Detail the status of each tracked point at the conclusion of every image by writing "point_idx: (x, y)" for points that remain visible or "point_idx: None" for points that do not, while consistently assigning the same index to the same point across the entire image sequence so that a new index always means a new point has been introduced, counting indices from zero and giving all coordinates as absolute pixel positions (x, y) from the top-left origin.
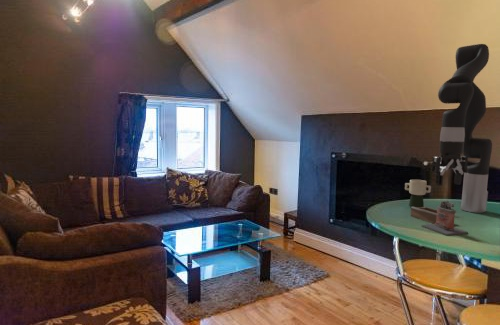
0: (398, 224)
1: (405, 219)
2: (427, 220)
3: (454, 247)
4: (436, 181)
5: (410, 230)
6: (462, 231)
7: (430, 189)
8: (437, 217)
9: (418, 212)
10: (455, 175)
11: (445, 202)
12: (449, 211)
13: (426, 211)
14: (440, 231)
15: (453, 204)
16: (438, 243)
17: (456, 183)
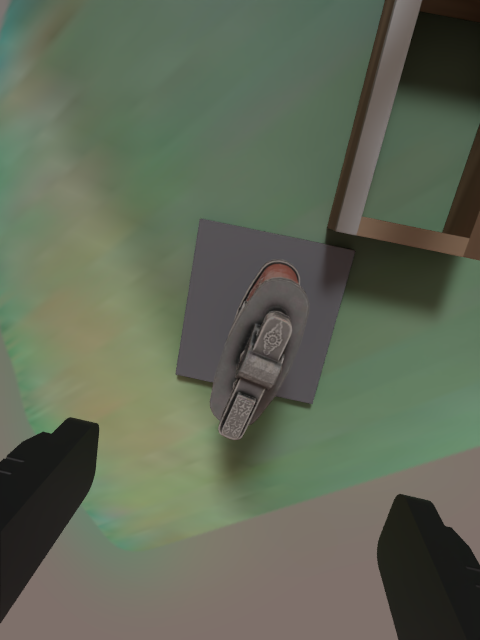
0: (109, 122)
1: (258, 47)
2: (346, 158)
3: None
4: (14, 463)
5: (80, 239)
6: (291, 389)
7: None
8: (257, 284)
9: (379, 51)
10: (450, 630)
11: (239, 376)
12: (211, 402)
13: (361, 132)
14: (184, 340)
15: (235, 437)
16: (46, 411)
17: (388, 530)
